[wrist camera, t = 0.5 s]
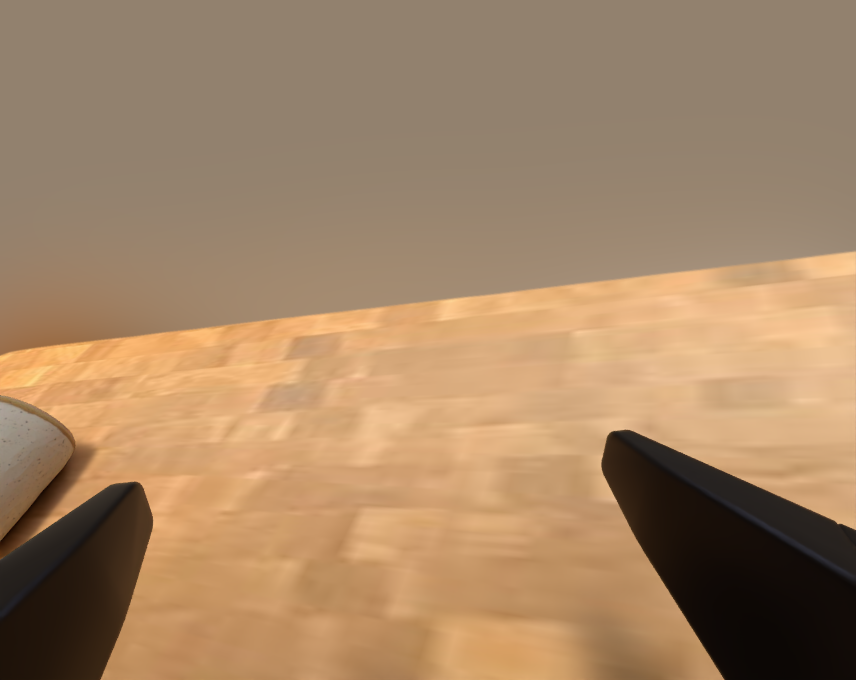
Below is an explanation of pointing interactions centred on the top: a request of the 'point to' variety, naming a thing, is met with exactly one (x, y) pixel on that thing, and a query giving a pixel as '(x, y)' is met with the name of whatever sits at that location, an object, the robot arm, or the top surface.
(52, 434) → the ceramic mug
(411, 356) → the top surface
